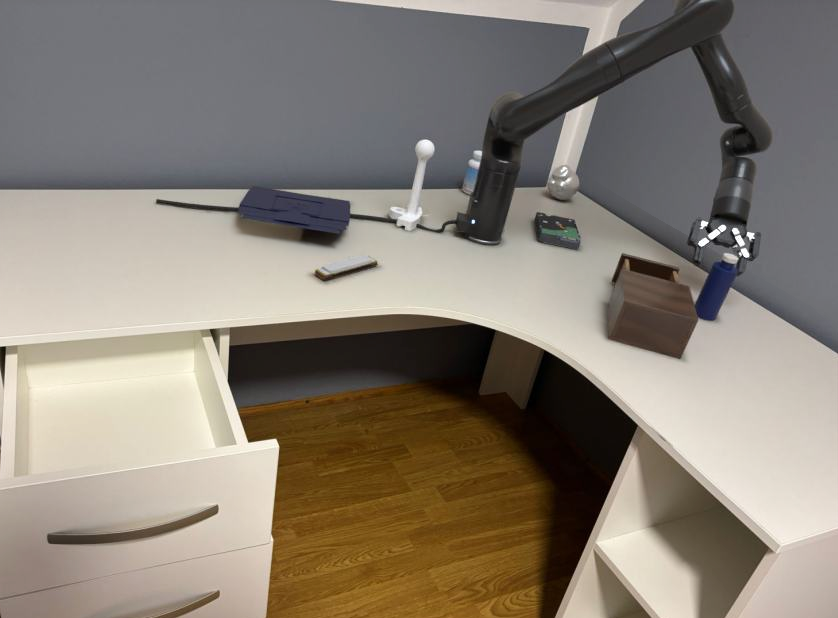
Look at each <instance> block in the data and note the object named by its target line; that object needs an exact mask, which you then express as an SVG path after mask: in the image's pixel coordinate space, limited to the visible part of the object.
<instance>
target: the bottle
mask: <svg viewBox="0 0 838 618" xmlns="http://www.w3.org/2000/svg"><path fill="white" fill-rule="evenodd" d="M738 260H739V259H738V257H737V255H736V254H735V255H734V254H732V253H729V252H724V253H723V254H722V256H721V260H720V261H714V262H713V263H712V265H711V268H710V270H709V271H708V275H707V277H706V279H705V281H704V283H703V285H702V286H701V287H702V288H701V290H700V292H699V294H698V296H697V298H696V300H695V302H694V305H695V309H696V313H697V316H698V319H702V320H705V321H711V322H712V321H715V320H716V319H717V317H718V314H719V312H720V310H721V308H722V307H723V304H724V302H725V300H726V298H727V296H728V294H729V291H730V289H731V287H732V286H733V284H734V281H735V279H736V277H737V276H736V275H737V273H738V269H737V268H736V266H735V265H737V261H738Z"/></svg>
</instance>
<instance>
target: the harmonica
mask: <svg viewBox="0 0 838 618" xmlns="http://www.w3.org/2000/svg"><path fill="white" fill-rule="evenodd" d="M376 266H378V260H377V259H375V258H373V257H371V256H370V255H366V254H358V255H355V256H351V257H346V258H344V259H339V260H336V261H332V262H328V263H325V264H322V267H321V268H317V269H315V270H314V275H315V276H317V277H318V278H319V279H320V280H321V279H322V280H323V281H328V280H334V279H338V278H341V277H345V276H348V275H349V276H350V275H352V274H355V273H358V272H362V271H365V270H369V269H371V268H372V267H373V268H374V267H376Z"/></svg>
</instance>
